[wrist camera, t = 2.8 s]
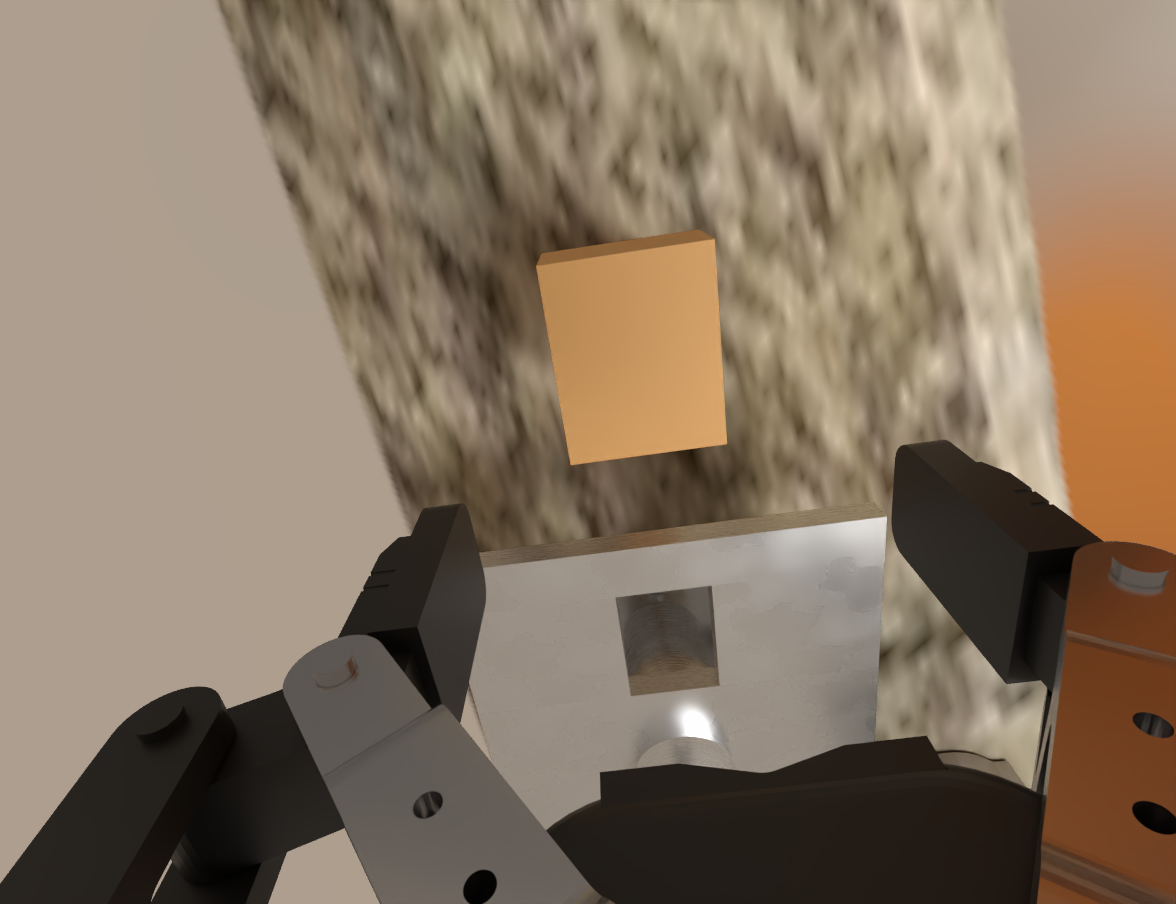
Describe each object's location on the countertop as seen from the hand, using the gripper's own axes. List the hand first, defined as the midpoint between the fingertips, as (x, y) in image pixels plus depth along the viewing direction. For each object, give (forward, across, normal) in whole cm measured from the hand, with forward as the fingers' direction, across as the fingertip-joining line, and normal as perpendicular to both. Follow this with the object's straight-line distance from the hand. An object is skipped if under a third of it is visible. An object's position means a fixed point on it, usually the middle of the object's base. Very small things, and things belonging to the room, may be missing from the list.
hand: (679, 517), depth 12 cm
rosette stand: (+22, 0, +18) cm, 29 cm away
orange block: (+22, 0, 0) cm, 22 cm away
